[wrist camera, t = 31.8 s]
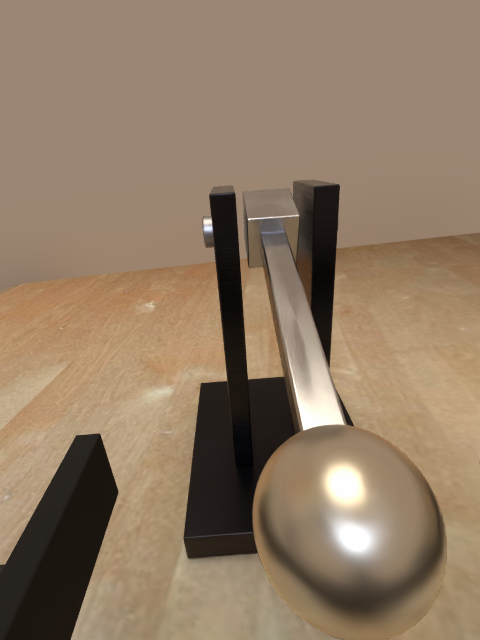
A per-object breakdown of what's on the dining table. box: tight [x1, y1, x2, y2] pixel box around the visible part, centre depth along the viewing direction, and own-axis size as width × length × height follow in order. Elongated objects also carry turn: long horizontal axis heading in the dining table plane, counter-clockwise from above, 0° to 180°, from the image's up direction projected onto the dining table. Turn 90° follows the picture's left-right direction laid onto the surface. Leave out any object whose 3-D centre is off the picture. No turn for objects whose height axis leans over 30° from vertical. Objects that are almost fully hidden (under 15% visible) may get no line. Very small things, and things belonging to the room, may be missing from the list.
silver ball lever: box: [242, 188, 447, 640], centre depth 11 cm, size 15×4×4 cm, turn 2°
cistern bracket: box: [184, 180, 354, 558], centre depth 18 cm, size 12×10×16 cm
